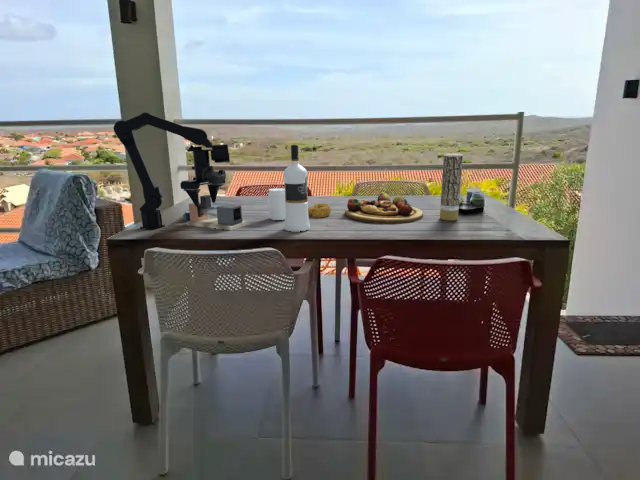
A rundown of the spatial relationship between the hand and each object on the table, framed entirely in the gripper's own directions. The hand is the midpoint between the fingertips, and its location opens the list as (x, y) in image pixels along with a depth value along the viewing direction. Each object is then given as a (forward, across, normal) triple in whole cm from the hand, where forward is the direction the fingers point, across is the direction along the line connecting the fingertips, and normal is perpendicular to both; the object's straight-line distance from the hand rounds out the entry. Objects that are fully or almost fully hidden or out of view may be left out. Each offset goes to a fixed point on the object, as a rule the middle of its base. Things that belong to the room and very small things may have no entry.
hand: (205, 204), depth 157 cm
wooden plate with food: (+8, +41, -58) cm, 71 cm away
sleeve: (+6, 0, -11) cm, 13 cm away
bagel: (+8, +30, -33) cm, 45 cm away
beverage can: (+8, +18, -22) cm, 29 cm away
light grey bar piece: (+8, +12, +15) cm, 21 cm away
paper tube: (+8, +43, -84) cm, 94 cm away
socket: (+6, 0, +4) cm, 8 cm away
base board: (+8, 0, -5) cm, 9 cm away
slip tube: (+4, 0, -2) cm, 5 cm away
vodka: (+8, +6, -37) cm, 38 cm away
